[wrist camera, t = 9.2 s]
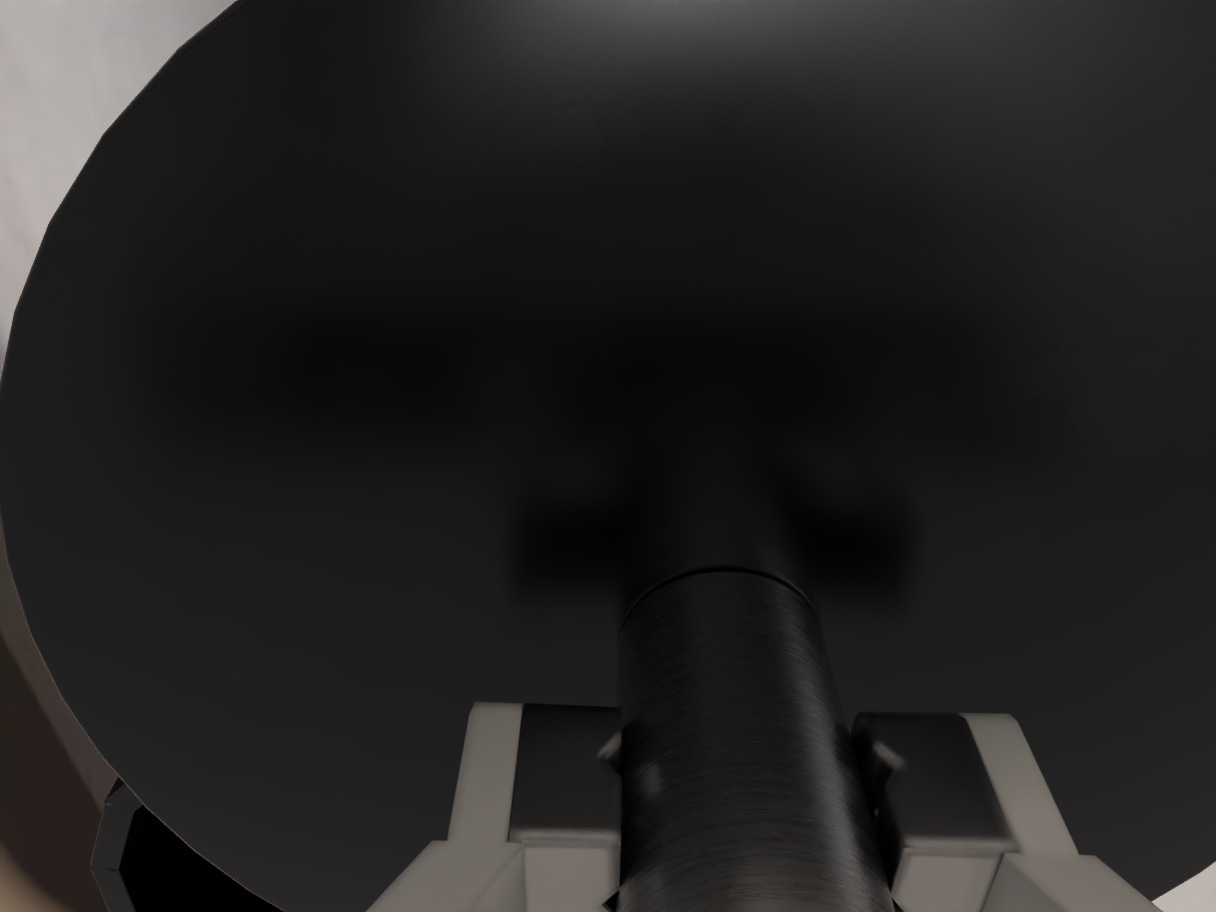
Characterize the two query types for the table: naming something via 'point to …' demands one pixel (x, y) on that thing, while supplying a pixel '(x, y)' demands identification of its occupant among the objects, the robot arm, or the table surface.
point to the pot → (158, 866)
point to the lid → (633, 423)
